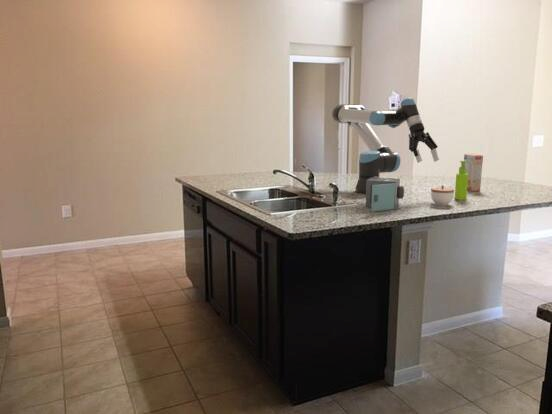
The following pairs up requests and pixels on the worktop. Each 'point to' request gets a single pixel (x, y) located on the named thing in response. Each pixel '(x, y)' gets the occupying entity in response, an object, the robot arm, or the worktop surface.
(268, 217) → the worktop surface
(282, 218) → the worktop surface
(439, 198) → the lidded jar
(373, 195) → the side door
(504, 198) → the worktop surface
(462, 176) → the soap dispenser
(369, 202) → the small grey cabinet
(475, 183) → the cracker box
